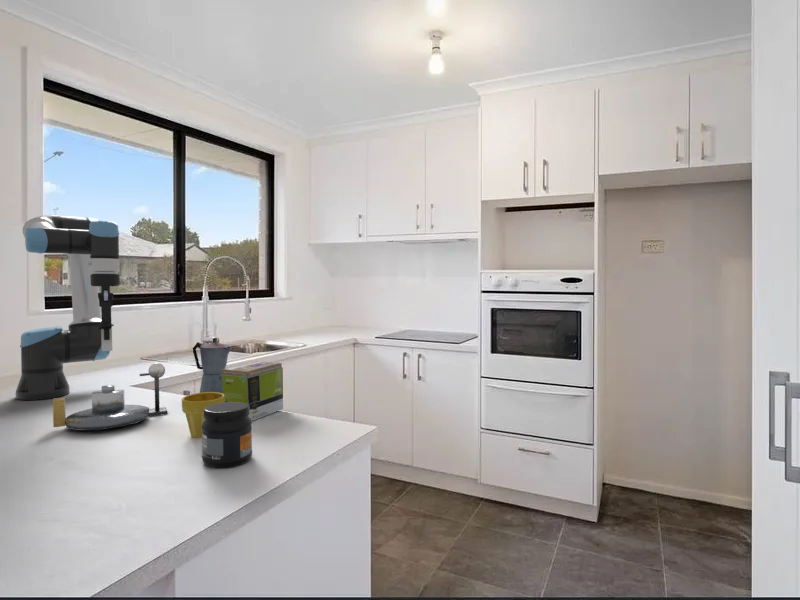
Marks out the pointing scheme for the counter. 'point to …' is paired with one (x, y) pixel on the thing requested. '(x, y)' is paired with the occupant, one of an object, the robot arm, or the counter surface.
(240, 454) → the supplement container
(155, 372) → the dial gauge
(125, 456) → the counter surface
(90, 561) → the counter surface
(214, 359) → the moka pot
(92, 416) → the turntable
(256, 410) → the tea box
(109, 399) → the cover
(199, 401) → the plant pot
